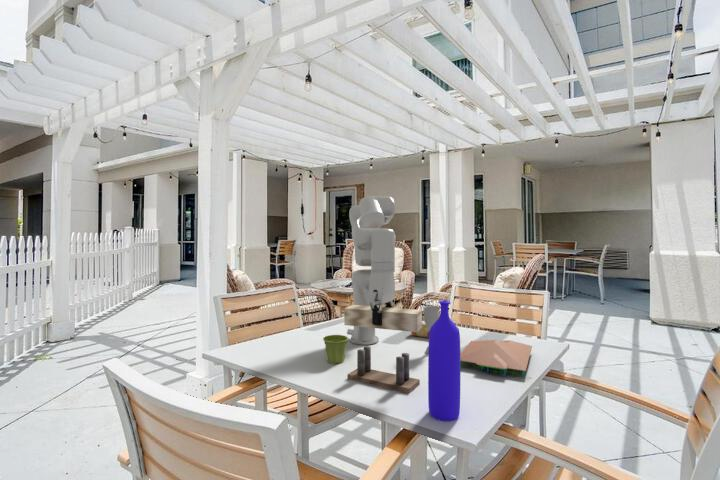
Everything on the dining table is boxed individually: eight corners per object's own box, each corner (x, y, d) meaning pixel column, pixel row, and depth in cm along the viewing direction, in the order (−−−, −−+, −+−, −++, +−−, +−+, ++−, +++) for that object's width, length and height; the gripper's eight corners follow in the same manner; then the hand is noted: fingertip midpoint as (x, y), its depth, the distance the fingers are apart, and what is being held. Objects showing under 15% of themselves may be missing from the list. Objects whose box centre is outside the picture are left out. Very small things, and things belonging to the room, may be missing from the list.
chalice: (440, 356, 147) (440, 309, 146) (422, 354, 148) (422, 309, 148) (439, 350, 154) (440, 306, 154) (423, 349, 155) (423, 305, 155)
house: (453, 371, 132) (453, 348, 132) (473, 346, 161) (473, 327, 161) (524, 383, 121) (525, 358, 121) (532, 354, 150) (532, 333, 150)
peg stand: (347, 378, 124) (347, 350, 124) (360, 371, 131) (360, 343, 131) (409, 393, 113) (409, 361, 112) (419, 384, 120) (419, 354, 119)
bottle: (424, 407, 104) (425, 298, 103) (454, 406, 104) (454, 298, 104) (433, 422, 95) (433, 304, 95) (464, 421, 96) (465, 303, 96)
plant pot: (351, 358, 144) (351, 336, 144) (342, 367, 135) (342, 342, 135) (329, 356, 147) (329, 333, 147) (318, 364, 138) (318, 340, 138)
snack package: (459, 339, 170) (459, 324, 170) (456, 343, 164) (456, 327, 164) (415, 333, 180) (415, 319, 180) (410, 336, 175) (410, 322, 175)
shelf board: (344, 325, 123) (344, 308, 123) (352, 320, 129) (352, 304, 129) (417, 332, 114) (417, 314, 114) (421, 327, 120) (421, 310, 120)
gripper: (385, 264, 130) (385, 316, 131) (358, 268, 116) (358, 326, 116) (404, 265, 127) (404, 318, 127) (380, 270, 112) (380, 330, 112)
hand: (382, 322), depth 121 cm, fingers closed on shelf board, 7 cm apart
